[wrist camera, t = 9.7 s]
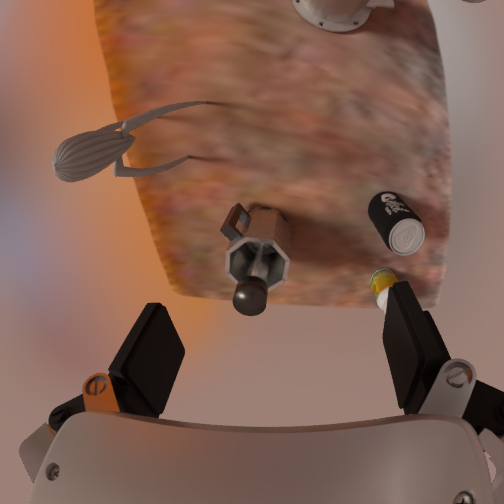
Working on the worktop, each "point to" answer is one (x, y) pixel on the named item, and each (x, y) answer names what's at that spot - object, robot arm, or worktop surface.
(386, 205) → the beverage can
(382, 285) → the supplement bottle
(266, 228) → the press carafe
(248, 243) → the grey knobbed rod
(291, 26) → the worktop surface
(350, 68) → the worktop surface
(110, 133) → the juicer
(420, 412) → the robot arm
